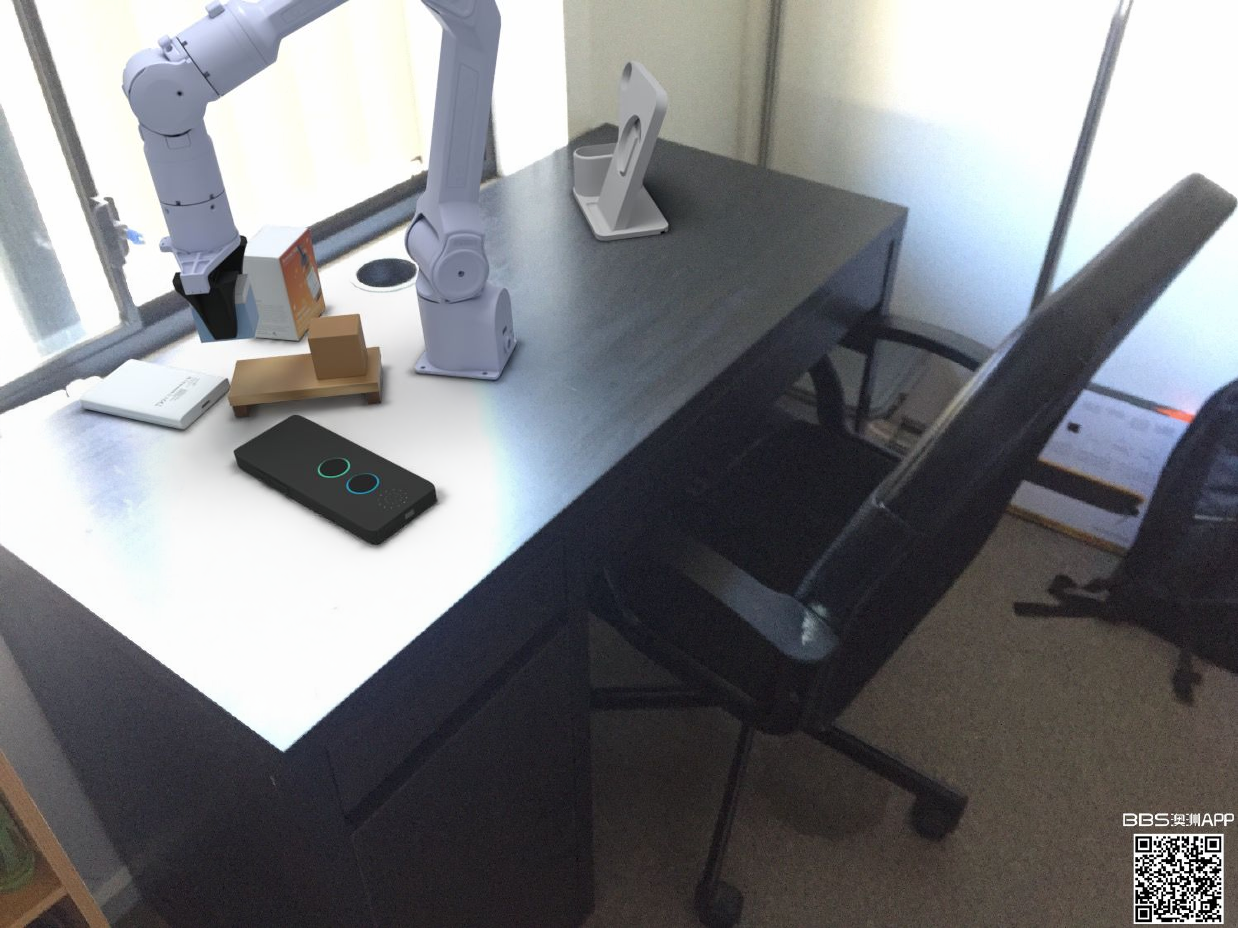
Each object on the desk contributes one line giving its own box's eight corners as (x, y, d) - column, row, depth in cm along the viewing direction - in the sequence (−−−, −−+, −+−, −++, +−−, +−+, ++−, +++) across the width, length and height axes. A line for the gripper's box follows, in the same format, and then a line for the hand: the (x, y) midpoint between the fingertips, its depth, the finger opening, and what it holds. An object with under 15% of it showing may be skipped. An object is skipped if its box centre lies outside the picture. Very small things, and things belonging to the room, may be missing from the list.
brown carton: (367, 354, 112) (359, 313, 109) (366, 375, 109) (357, 334, 106) (319, 358, 112) (310, 317, 109) (317, 380, 108) (307, 338, 105)
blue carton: (259, 316, 105) (248, 273, 102) (254, 338, 102) (242, 294, 99) (207, 321, 104) (194, 278, 101) (200, 343, 101) (187, 299, 98)
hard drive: (135, 369, 116) (231, 388, 113) (83, 410, 110) (183, 431, 107) (131, 357, 115) (227, 375, 112) (78, 397, 109) (178, 418, 106)
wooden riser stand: (383, 368, 115) (379, 346, 113) (382, 404, 110) (377, 381, 108) (242, 382, 114) (236, 360, 112) (234, 419, 108) (227, 396, 106)
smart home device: (371, 532, 91) (228, 451, 101) (375, 547, 92) (232, 465, 102) (439, 483, 96) (296, 410, 106) (441, 498, 97) (300, 424, 107)
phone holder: (570, 189, 151) (564, 61, 140) (639, 181, 153) (637, 54, 142) (597, 242, 138) (592, 105, 127) (672, 232, 140) (673, 96, 129)
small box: (298, 342, 120) (278, 258, 113) (253, 338, 121) (230, 254, 114) (327, 308, 126) (310, 226, 119) (284, 304, 127) (264, 223, 120)
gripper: (161, 165, 99) (199, 292, 108) (127, 231, 88) (173, 368, 96) (237, 159, 100) (269, 286, 109) (214, 224, 89) (252, 361, 97)
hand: (229, 324), depth 103 cm, fingers closed on blue carton, 4 cm apart
